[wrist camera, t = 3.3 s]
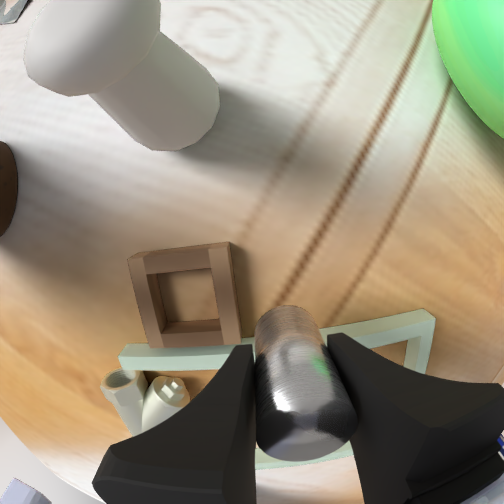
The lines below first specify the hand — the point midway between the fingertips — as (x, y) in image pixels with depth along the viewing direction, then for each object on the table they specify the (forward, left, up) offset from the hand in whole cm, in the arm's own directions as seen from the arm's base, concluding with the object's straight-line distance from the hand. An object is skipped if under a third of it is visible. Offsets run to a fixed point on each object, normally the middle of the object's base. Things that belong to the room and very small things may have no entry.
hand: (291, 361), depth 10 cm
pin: (0, 0, -2) cm, 2 cm away
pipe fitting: (-10, +11, -9) cm, 17 cm away
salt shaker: (+12, +5, -9) cm, 16 cm away
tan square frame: (0, +6, -9) cm, 11 cm away
